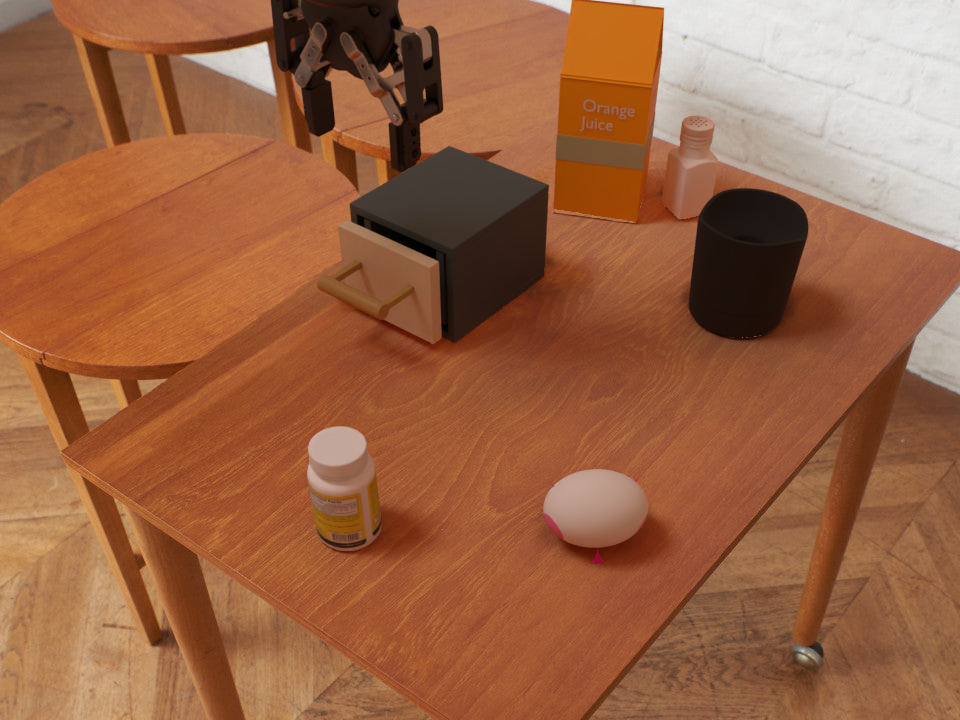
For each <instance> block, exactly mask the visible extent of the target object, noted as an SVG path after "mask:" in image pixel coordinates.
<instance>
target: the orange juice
mask: <svg viewBox="0 0 960 720" xmlns="http://www.w3.org/2000/svg"><path fill="white" fill-rule="evenodd" d="M664 20H665V7H661V6H653V5H652V6H651V5H641V4H634V3H633V4H632V3H622V2H613V1H604V0H571V5H570V11H569V18H568V23H567V25H568V26H567V32H566V38H565V46H564V53H563V59H562V67H561V72H560V74H559V76H560V77H559V94H558V95H559V97H558V113H557V114H558V115H557V132H556V144H555V169H554V170H555V171H554V172H555V173H554V188H553V189H554V191H553V209H557V210H564V211H571V212H579V213H582V214H590V215H594V216H601V217H608V218H609V217H610V218H615V219H623V220H627V221H633V222H636V221H637V222H638V219H637V217H638V218H639V215H640V212H639V210H640V211H641V208H640V206H641V207H642V204H641V202H642V203H643V201H642V199H643V200H644V197H643V195H644V196H645V193H644V191H645V192H646V190H645V187H646V188H647V183H648V175H649V174H648V173H649V165H650V158H651V148H652V142H653V137H654V136H653V135H654V128H655V121H656V120H655V119H656V113H657V112H656V111H657V110H656V109H657V108H656V107H657V101H658V100H657V99H658V93H659V92H658V91H659V82H660V73H661V67H662V66H661V65H662V60H663V59H662V57H663V43H664V41H663V40H664V22H665V21H664ZM638 214H639V215H638Z"/></svg>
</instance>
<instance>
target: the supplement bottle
mask: <svg viewBox="0 0 960 720" xmlns="http://www.w3.org/2000/svg"><path fill="white" fill-rule="evenodd" d="M307 446H308V447H307V452H308V462H309V464H308V466H307V470H306V477H307V479H306V480H307V484H308V489H309V494H310V501H311V507H312V511H313V517H314V522H315V527H316V532H317V535H318V537H319V539H320V541H321V542H322V544H324V545H325V546H327V547H329V548H331V549H333V550H336V551H340V552H354V551H358V550H362V549H364V548H366V547H368V546H369V545H371V544H372V543H373V542H374V541H376V539H377V538H378V536H379V535H380V533H381V531H382V525H383V524H382V523H383V521H382V511H381V504H380V496H379V494H380V493H379V487H378V478H377V469H376V464H375V461H374V459H373V458H372V456H371V455H370V454H369V448H368V443H367V439H366V437H365V435H363V434H362V432H360V431H359V430H357V429H355V428H353V427H350V426H343V425H342V426H341V425H339V426H337V425H335V426H329V427H326V428H324V429H321V430H320V431H318V432H317V433H315V435H313V436H312V437H311V439H310V440H309V442H308V445H307Z"/></svg>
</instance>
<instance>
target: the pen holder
mask: <svg viewBox="0 0 960 720" xmlns="http://www.w3.org/2000/svg"><path fill="white" fill-rule="evenodd" d="M697 217H698V218H697V224H696V233H695V244H694V249H693V251H694V252H693V259H692V260H693V261H692V266H691V276H690V285H689V295H688V310H689V312H690V314H691V316H692V317H693V319H694V320H695V322H696V323H698V325H699V326H701V327H702V328H703V329H705V330H706V331H709V332H710V331H711V333H713V334H715V335H718V336H722V337H725V338H730V337H734V338H733V339H738V338H742V337H743V338H746V337H748V338H747V339H750V338H749V337H754V336H759V335H762V336H764V335H763V334H765V335H767V334H769V333H771V332H772V331H774V330H775V329H776V328H777V327H778V326H779V325H780V324H781V322H782V319H783V317H784V315H785V311H786V308H787V306H788V301H789V298H790V295H791V292H792V289H793V285H794V283H795V279H796V276H797V273H798V269H799V267H800V262H801V259H802V256H803V252H804V250H805V246H806V243H807V241H808V240H807V239H808V235H809V220H808V215H807V212H806V211H805V209H804V208H803V207H802V206H801V205H800V204H799V203H798V202H796V201H795V200H793V199H792V198H790V197H788V196H785V195H783V194H780V193H778V192H773V191H770V190H766V189H762V188H761V189H759V188H749V187H741V188H740V187H738V188H729V189H725V190H723V191H722V190H721V191H720V192H717V193H716V194H715V195H714V194H713V196H712V198H711V199H710V200H709V201H708V202H707V203H706V205H705V206H704V208H703V209H702V211H701V213H700V215H699V216H697ZM768 332H769V333H768ZM766 333H767V334H766ZM759 337H760V336H759Z"/></svg>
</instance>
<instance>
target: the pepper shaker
mask: <svg viewBox="0 0 960 720" xmlns="http://www.w3.org/2000/svg"><path fill="white" fill-rule="evenodd" d="M715 127H716V123H715V121H713V119H711V118H709V117H707V116H703V115H689V116H686V117H684V118H683V120H682V122H681V127H680V134H679V146H677V147H674V148H672V149H671V150H670V151H669V152H668V153H667V159H666V166H665V175H664V182H663V189H662V196H661V202H663V203H662V205H663V204H664V206H666V207H667V208H668V209H669V210H668V209H667V208H666V207H665V208H666V209H667V210H668V211H669V212H670V211H671V212H672V213H673V214H674V215H673V214H672V213H671V212H670V213H671V214H672V215H673V216H674V217H675V216H676V217H677V218H678V220H681V219H684V220H688V219H692V218H697V217H699V215H700V213H701V211H702V209H703V208H704V206H705V205H706V203H707V202H708V201H709V200H710V199H711V198H712V197H713V196H714V190H715V184H716V179H717V172H718V167H719V161H718V158H717V156H716V155H715V153H714V152H713V151H711V145H712V144H713V139H714V132H715ZM664 206H663V207H664ZM696 216H697V217H696ZM676 217H675V218H676ZM691 217H692V218H691ZM677 218H676V219H677ZM687 218H688V219H687Z"/></svg>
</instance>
